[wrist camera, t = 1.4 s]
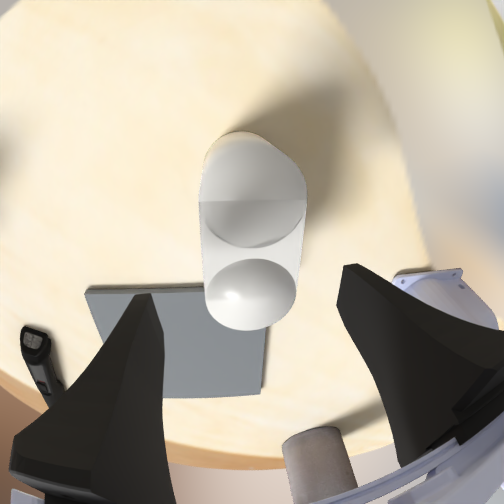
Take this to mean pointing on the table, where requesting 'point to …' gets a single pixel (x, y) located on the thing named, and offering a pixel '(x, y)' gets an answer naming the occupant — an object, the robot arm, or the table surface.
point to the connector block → (250, 230)
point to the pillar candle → (317, 465)
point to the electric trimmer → (40, 363)
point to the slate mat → (191, 342)
